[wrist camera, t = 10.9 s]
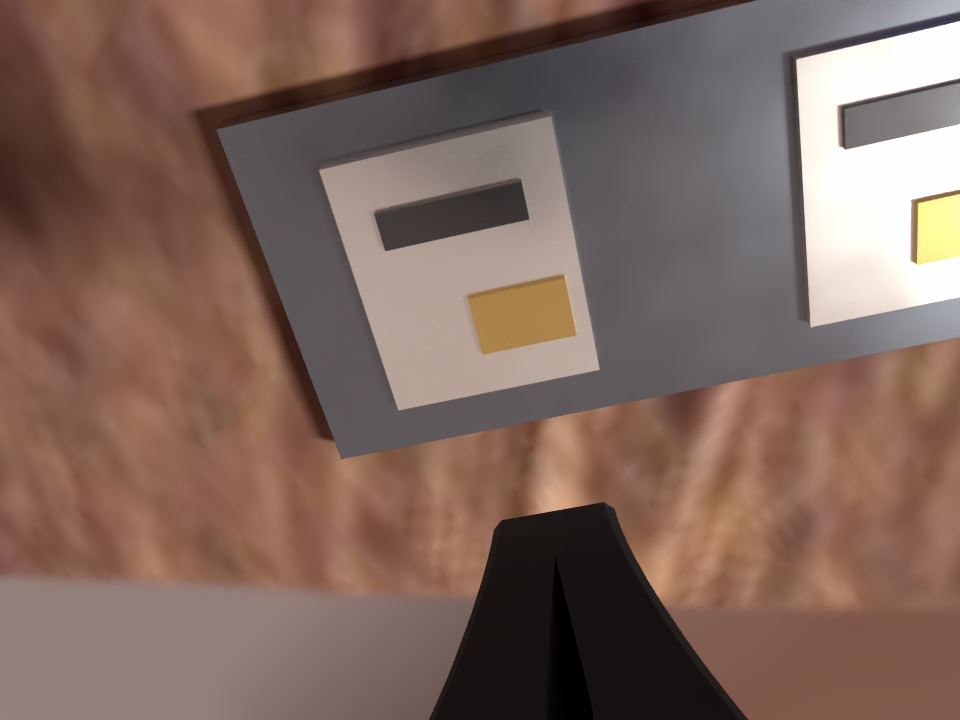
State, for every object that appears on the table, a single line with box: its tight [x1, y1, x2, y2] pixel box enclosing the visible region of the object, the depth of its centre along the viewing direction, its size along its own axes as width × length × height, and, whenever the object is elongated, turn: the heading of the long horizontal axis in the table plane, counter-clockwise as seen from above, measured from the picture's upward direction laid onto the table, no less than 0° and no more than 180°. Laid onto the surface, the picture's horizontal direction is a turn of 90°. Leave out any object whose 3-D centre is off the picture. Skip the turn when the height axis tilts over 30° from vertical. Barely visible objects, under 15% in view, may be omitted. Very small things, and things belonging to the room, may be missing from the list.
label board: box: [216, 0, 960, 459], centre depth 16 cm, size 15×7×1 cm, turn 103°
